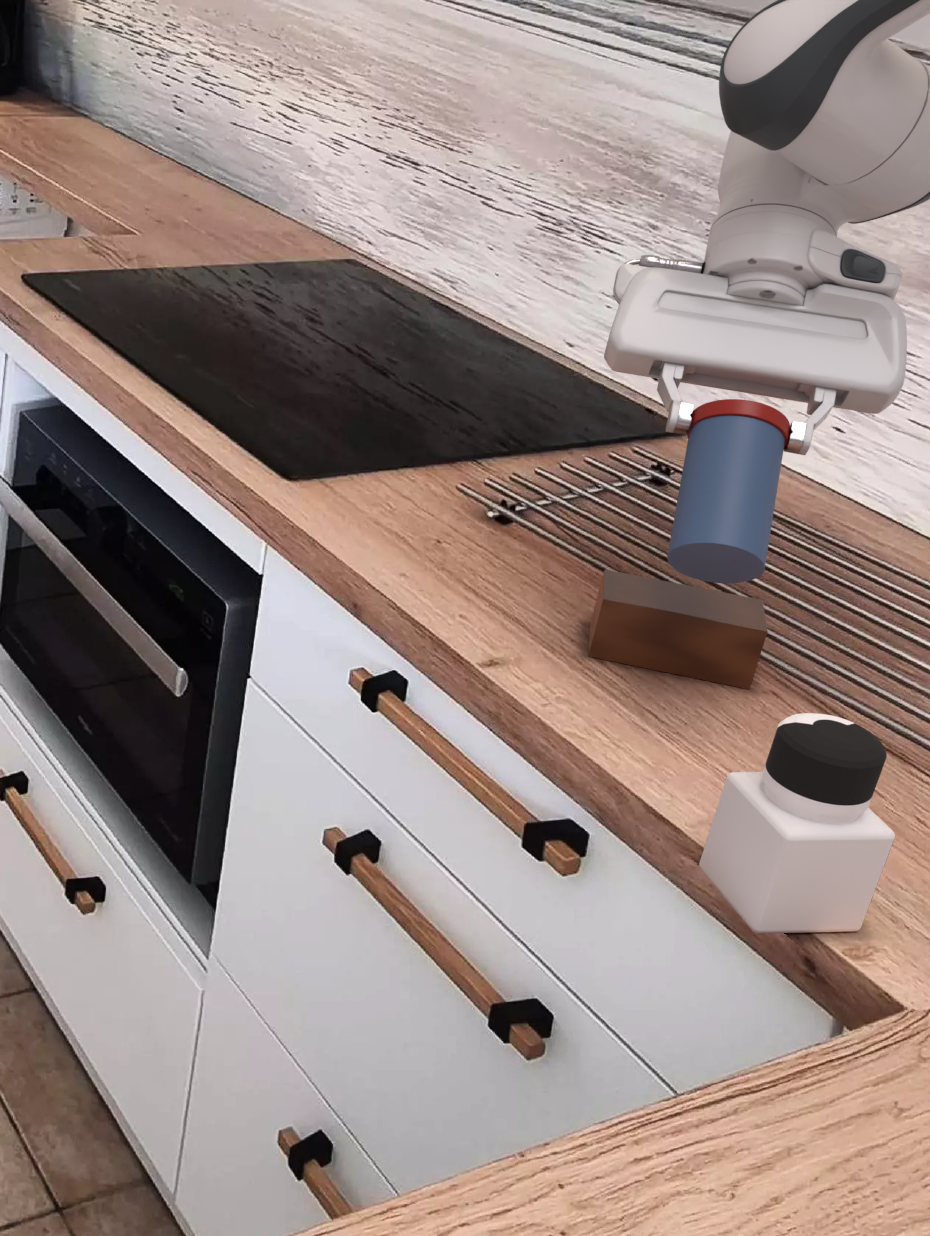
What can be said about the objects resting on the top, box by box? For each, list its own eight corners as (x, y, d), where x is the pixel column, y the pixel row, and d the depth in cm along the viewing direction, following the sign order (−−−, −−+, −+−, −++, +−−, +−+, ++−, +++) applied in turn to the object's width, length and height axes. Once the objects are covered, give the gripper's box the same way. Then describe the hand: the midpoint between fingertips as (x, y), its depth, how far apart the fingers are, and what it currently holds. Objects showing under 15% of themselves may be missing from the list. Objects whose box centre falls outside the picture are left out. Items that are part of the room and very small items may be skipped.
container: (748, 551, 130) (795, 390, 124) (759, 614, 119) (811, 441, 113) (654, 534, 131) (696, 374, 126) (657, 595, 121) (703, 423, 115)
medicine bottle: (862, 933, 104) (926, 761, 98) (753, 936, 102) (812, 762, 97) (798, 865, 110) (856, 700, 104) (695, 867, 109) (748, 699, 103)
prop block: (745, 656, 137) (763, 599, 134) (749, 689, 132) (768, 631, 129) (589, 625, 139) (604, 568, 137) (588, 656, 134) (603, 598, 132)
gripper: (627, 228, 127) (594, 394, 123) (926, 271, 122) (901, 445, 118) (613, 274, 133) (581, 434, 129) (898, 317, 128) (873, 484, 124)
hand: (737, 440), depth 123 cm, fingers closed on container, 7 cm apart
